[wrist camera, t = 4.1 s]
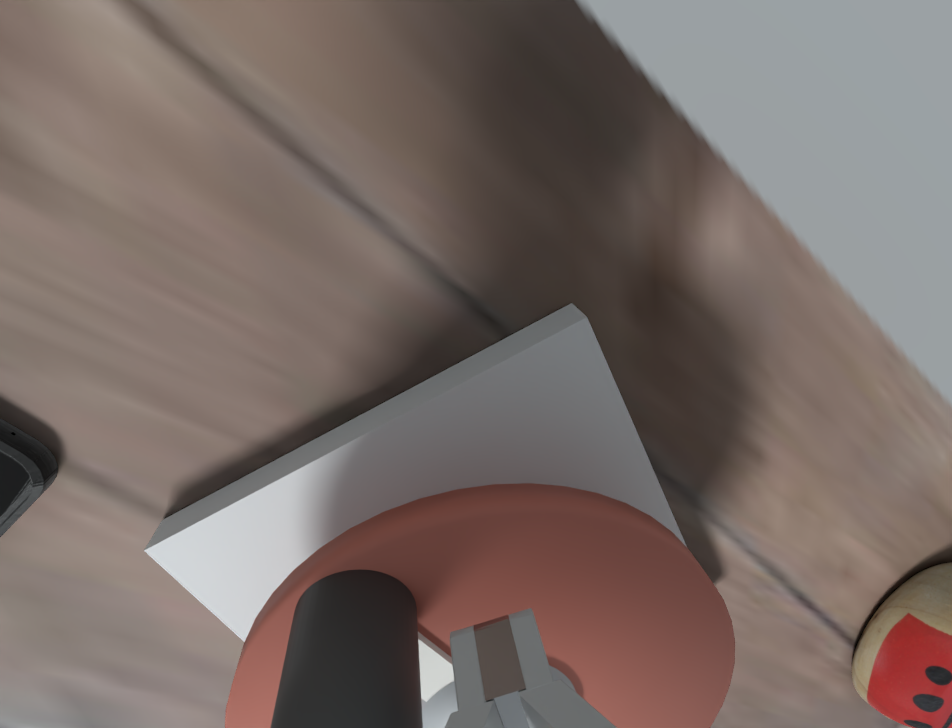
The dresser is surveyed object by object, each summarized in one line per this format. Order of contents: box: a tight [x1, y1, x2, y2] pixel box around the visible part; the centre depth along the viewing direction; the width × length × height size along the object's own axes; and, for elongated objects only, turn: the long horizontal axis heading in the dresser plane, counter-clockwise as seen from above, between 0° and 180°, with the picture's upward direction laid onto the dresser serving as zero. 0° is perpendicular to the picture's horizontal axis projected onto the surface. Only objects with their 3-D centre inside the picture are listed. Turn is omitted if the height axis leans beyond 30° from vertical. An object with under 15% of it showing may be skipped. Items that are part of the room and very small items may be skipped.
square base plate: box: [144, 303, 687, 642], centre depth 19 cm, size 16×16×4 cm
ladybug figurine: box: [852, 562, 952, 728], centre depth 26 cm, size 7×10×4 cm
